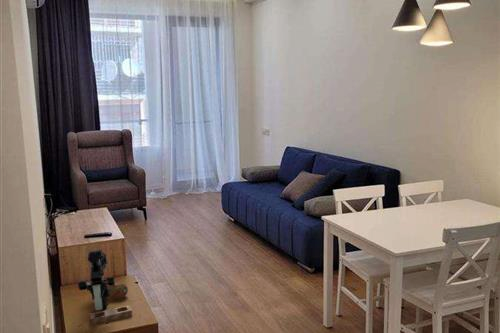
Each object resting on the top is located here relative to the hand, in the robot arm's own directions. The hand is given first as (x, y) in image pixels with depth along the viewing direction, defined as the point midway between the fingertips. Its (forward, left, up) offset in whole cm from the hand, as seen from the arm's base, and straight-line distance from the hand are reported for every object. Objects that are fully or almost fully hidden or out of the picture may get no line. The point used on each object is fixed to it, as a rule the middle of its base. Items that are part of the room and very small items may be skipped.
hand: (97, 298), depth 245 cm
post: (-1, 0, -7) cm, 7 cm away
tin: (-29, +3, -13) cm, 32 cm away
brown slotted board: (-3, +5, -13) cm, 14 cm away
